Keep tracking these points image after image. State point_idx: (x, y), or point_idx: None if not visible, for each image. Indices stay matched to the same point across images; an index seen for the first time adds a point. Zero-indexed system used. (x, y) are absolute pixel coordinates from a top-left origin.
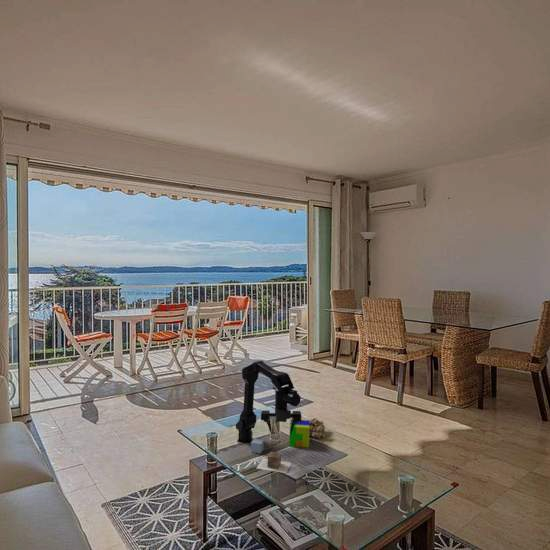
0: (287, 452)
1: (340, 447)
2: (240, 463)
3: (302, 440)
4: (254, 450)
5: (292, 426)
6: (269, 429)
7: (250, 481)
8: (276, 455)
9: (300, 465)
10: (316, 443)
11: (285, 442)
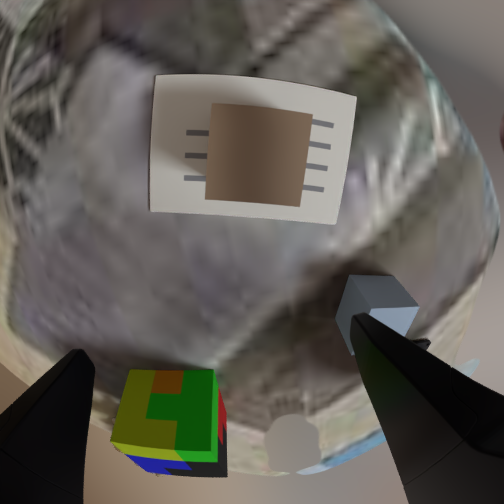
0: (206, 320)
1: (46, 368)
2: (434, 155)
3: (150, 393)
4: (384, 283)
5: (7, 420)
6: (418, 348)
7: None
8: (235, 142)
9: (99, 198)
10: (119, 391)
11: (238, 389)
